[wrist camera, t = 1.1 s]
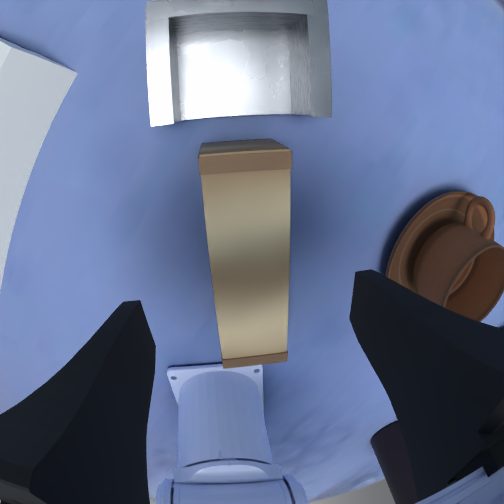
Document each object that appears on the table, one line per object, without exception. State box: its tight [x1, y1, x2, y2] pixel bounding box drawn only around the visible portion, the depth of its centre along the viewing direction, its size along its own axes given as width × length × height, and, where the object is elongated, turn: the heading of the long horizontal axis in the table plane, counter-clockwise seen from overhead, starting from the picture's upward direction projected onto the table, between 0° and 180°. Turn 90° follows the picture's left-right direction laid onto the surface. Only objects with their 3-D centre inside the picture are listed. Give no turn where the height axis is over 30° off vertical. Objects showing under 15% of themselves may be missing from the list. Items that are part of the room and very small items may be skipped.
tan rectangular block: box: [198, 139, 292, 369], centre depth 18 cm, size 13×4×5 cm, turn 2°
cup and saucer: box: [386, 191, 504, 322], centre depth 20 cm, size 12×12×6 cm
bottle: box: [371, 421, 419, 504], centre depth 28 cm, size 7×7×20 cm
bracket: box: [146, 0, 332, 127], centre depth 12 cm, size 7×8×7 cm
